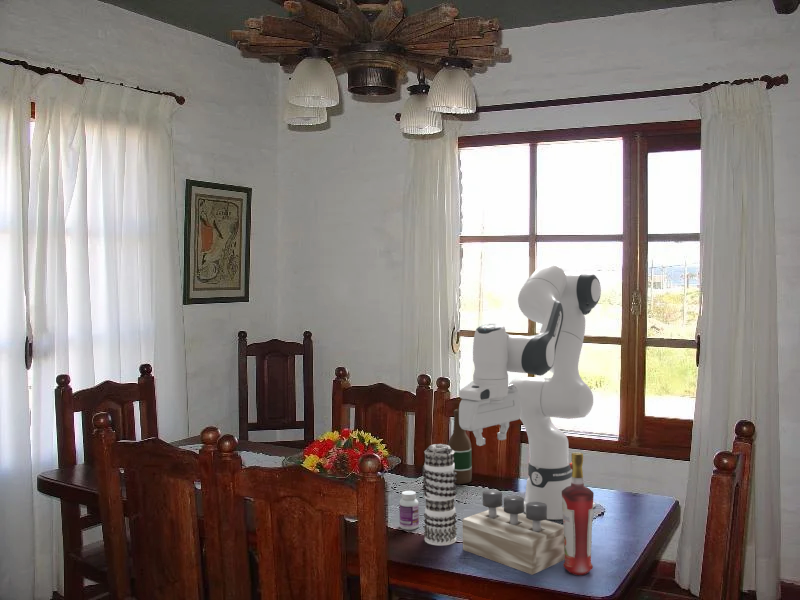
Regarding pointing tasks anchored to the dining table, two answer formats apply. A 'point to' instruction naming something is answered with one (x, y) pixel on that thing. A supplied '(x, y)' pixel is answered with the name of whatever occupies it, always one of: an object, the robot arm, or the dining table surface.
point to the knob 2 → (513, 507)
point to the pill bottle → (409, 511)
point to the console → (514, 541)
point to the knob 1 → (492, 501)
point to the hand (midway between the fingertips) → (491, 442)
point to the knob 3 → (536, 514)
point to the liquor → (577, 520)
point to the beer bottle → (461, 452)
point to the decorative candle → (439, 495)
